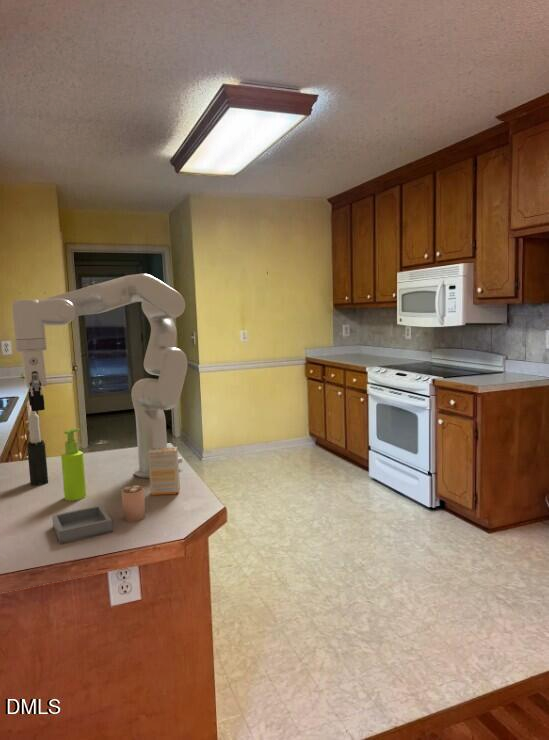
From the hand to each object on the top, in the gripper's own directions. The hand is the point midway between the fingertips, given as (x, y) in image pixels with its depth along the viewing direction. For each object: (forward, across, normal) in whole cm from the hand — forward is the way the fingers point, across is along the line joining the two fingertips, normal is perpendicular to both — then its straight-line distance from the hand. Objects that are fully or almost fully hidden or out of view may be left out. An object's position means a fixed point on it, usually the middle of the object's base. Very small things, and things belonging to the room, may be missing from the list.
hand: (37, 407), depth 142 cm
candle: (+28, +24, 0) cm, 37 cm away
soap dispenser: (+28, +4, -9) cm, 30 cm away
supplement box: (+28, -8, -32) cm, 44 cm away
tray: (+28, -22, -7) cm, 37 cm away
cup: (+28, -22, -20) cm, 41 cm away
